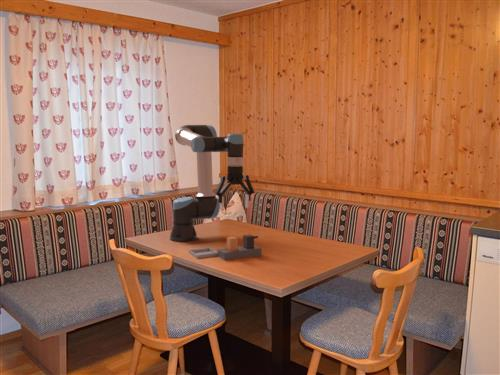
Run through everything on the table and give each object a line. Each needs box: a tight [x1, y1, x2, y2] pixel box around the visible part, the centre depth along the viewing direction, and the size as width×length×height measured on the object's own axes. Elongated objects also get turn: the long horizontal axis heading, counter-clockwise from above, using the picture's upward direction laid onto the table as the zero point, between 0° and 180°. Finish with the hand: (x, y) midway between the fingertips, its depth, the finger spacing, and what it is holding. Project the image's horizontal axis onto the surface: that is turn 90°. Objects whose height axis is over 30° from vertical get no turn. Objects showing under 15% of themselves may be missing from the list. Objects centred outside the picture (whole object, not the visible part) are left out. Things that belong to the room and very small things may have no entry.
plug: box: [226, 236, 239, 252], centre depth 225 cm, size 4×4×10 cm
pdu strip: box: [217, 234, 262, 261], centre depth 227 cm, size 8×20×10 cm, turn 118°
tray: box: [188, 246, 218, 259], centre depth 229 cm, size 11×11×2 cm
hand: (234, 208), depth 227 cm, fingers open, 13 cm apart
